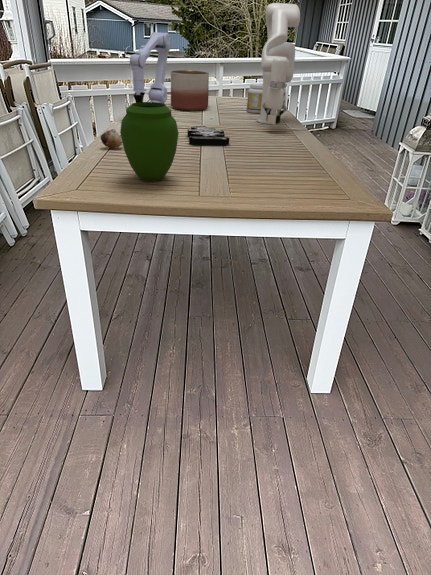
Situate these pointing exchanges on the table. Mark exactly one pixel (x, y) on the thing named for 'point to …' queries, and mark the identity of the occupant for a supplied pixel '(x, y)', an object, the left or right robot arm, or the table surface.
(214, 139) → the sign
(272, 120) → the grey square block
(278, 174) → the table surface
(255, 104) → the supplement tub
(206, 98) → the planter
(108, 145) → the seashell
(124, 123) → the vase
